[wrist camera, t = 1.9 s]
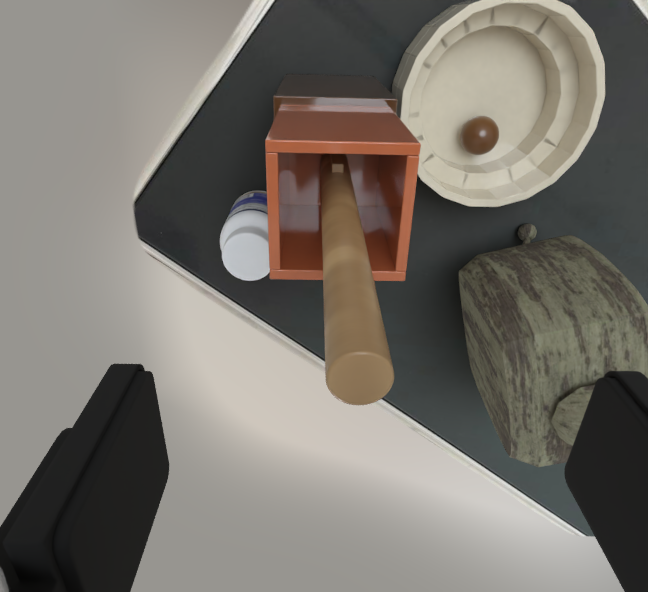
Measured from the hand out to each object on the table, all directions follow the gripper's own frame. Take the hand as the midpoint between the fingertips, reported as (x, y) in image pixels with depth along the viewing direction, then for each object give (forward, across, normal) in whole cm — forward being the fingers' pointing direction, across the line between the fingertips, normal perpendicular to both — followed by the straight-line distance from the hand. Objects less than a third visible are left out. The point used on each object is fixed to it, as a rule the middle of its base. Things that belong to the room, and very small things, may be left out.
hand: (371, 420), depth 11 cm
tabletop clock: (+35, -17, +15) cm, 41 cm away
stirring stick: (+21, 0, 0) cm, 21 cm away
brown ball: (+33, -12, 0) cm, 35 cm away
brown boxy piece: (+35, 0, 0) cm, 35 cm away
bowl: (+35, -12, -2) cm, 37 cm away
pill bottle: (+35, +6, +8) cm, 36 cm away
